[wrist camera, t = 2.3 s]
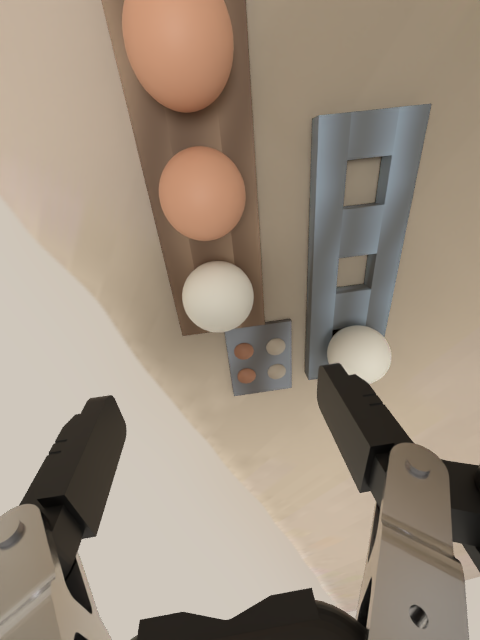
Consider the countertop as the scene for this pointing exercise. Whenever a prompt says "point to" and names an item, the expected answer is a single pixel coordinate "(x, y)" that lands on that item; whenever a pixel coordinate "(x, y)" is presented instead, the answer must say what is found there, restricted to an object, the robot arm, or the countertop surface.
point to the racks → (244, 239)
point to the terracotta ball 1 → (179, 49)
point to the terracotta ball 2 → (202, 193)
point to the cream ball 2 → (360, 352)
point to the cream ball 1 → (217, 296)
